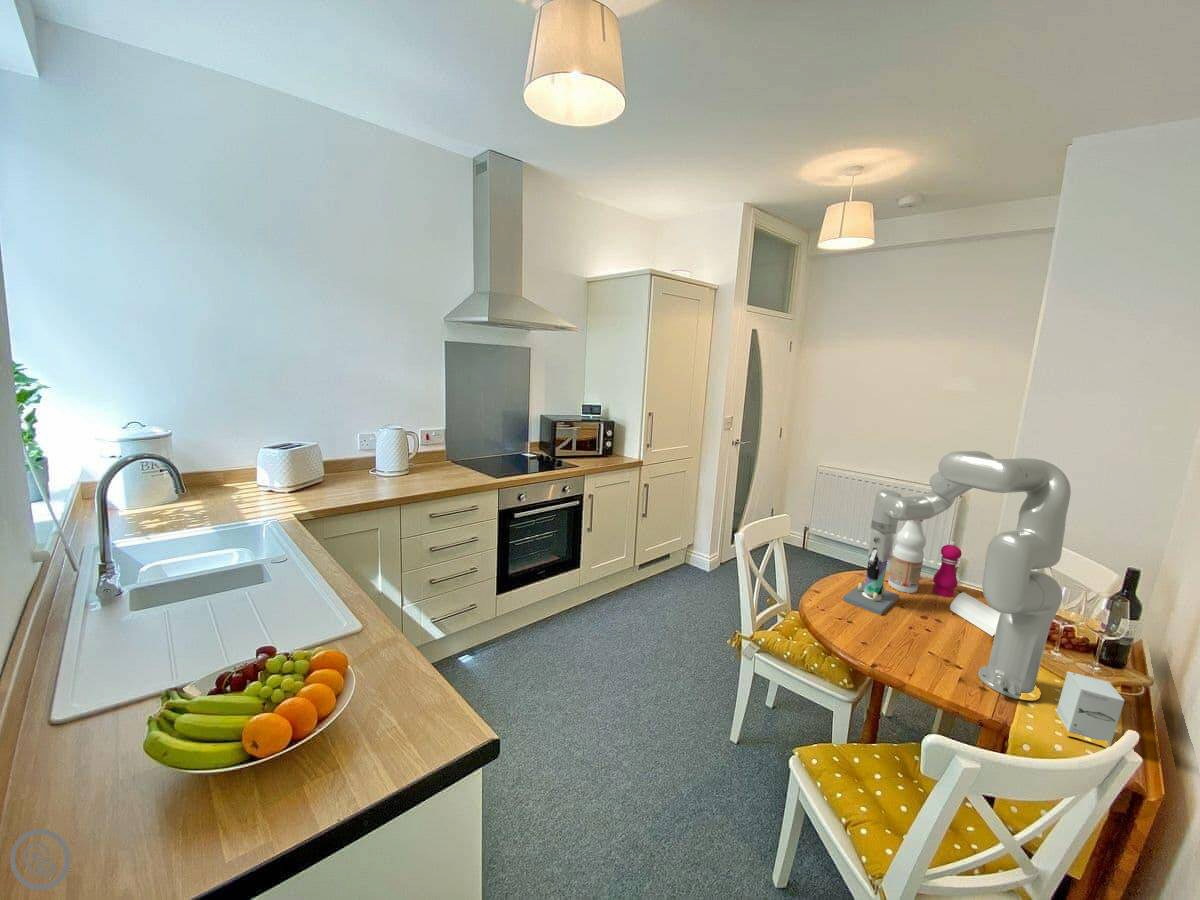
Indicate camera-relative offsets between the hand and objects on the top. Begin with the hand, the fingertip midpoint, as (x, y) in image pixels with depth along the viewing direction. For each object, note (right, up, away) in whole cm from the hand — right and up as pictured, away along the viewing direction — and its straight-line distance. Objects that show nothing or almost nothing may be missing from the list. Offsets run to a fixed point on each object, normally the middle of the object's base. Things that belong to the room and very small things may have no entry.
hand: (875, 575), depth 164 cm
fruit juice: (+17, -8, +12) cm, 23 cm away
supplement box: (+15, -22, -56) cm, 61 cm away
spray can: (0, -7, +1) cm, 7 cm away
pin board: (0, -9, +2) cm, 9 cm away
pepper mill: (+30, -9, +10) cm, 33 cm away
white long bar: (+28, -14, -12) cm, 34 cm away
